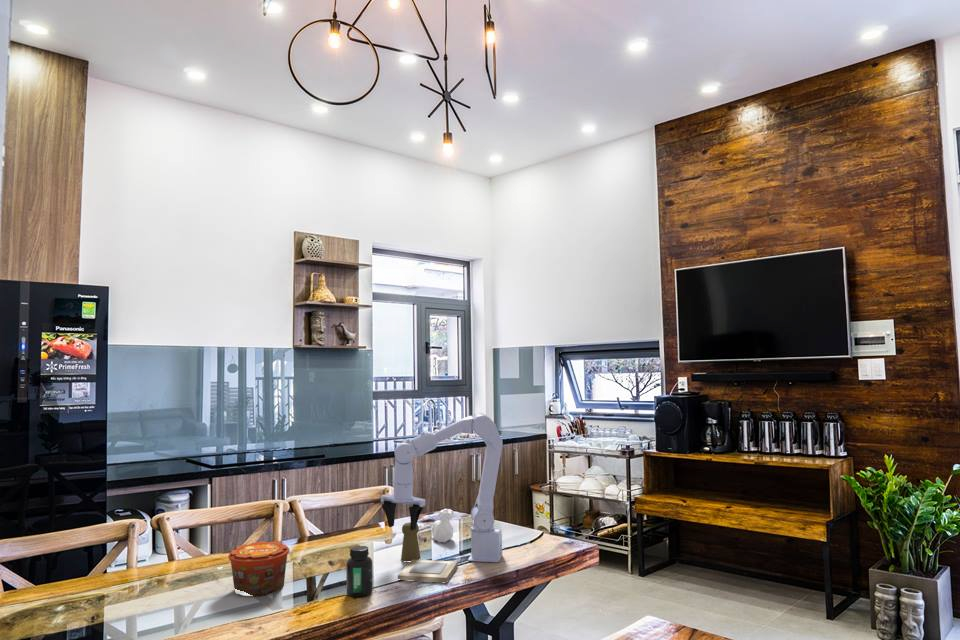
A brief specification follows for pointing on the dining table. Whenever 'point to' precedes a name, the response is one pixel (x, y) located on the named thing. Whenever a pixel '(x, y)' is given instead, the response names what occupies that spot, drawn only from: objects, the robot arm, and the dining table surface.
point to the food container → (259, 567)
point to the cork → (410, 543)
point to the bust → (443, 526)
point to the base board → (428, 571)
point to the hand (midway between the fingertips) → (402, 528)
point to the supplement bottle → (359, 573)
